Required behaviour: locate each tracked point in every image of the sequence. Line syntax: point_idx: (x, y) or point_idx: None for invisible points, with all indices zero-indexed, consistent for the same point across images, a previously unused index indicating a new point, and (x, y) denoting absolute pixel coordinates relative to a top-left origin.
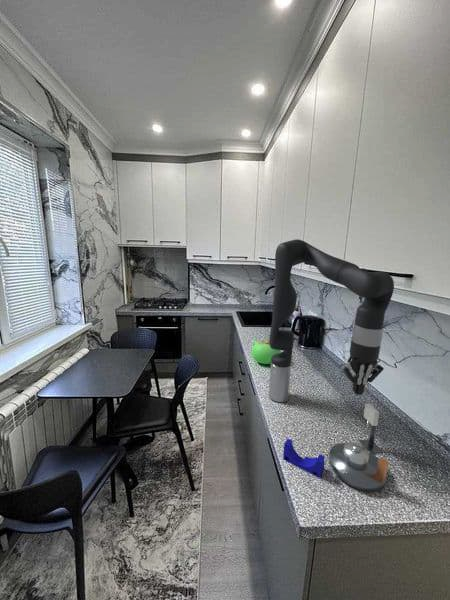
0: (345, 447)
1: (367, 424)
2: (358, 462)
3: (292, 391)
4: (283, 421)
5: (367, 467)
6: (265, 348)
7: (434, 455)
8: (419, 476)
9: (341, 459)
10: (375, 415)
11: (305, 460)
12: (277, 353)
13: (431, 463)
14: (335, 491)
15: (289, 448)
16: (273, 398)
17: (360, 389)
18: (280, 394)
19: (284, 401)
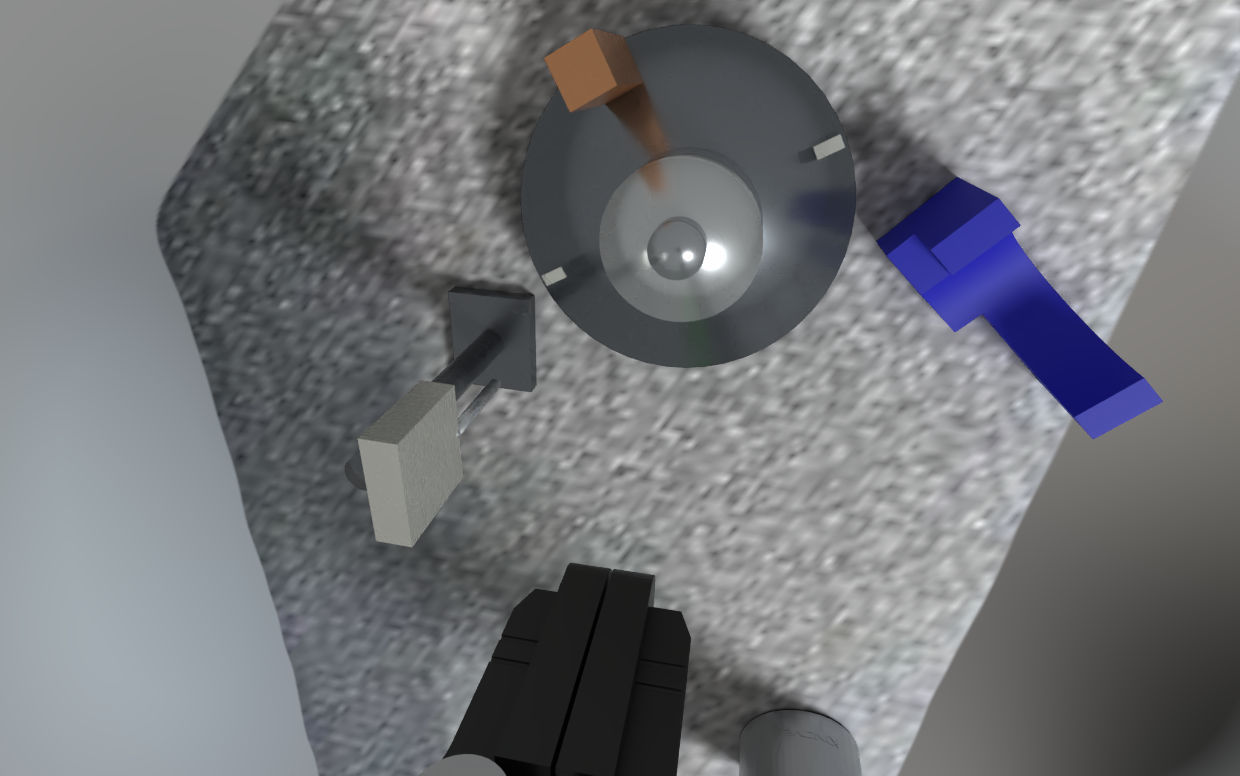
0: (743, 279)
1: (471, 416)
2: (718, 161)
3: (688, 757)
4: (890, 592)
5: (638, 167)
6: None
7: (188, 243)
8: (345, 125)
9: (768, 249)
10: (401, 428)
11: (982, 301)
12: None
13: (233, 197)
14: (918, 77)
15: (1114, 370)
16: (850, 744)
17: (589, 657)
18: (820, 762)
19: (786, 710)
